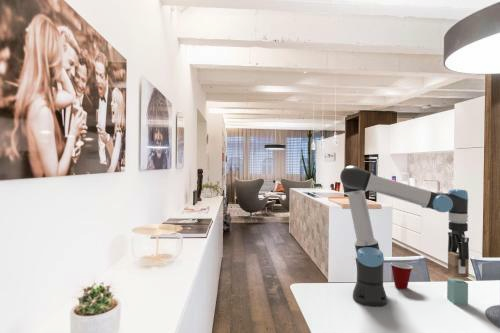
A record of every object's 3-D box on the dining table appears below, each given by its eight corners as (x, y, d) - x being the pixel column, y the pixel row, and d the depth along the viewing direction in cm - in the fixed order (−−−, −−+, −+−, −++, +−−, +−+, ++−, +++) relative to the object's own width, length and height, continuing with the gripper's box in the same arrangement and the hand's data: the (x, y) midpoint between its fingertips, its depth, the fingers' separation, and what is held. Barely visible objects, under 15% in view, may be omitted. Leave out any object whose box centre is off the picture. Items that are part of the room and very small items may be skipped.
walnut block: (454, 276, 141) (454, 255, 141) (447, 272, 147) (447, 251, 147) (468, 277, 140) (468, 255, 140) (461, 273, 146) (461, 252, 146)
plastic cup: (416, 288, 159) (417, 265, 160) (405, 292, 153) (406, 268, 153) (396, 281, 168) (397, 260, 169) (385, 285, 162) (386, 263, 162)
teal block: (453, 304, 141) (454, 282, 141) (447, 299, 147) (447, 278, 147) (467, 305, 140) (468, 283, 140) (460, 300, 146) (460, 279, 146)
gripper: (478, 225, 134) (478, 278, 133) (455, 219, 153) (455, 265, 152) (460, 225, 135) (460, 277, 134) (439, 218, 154) (439, 264, 153)
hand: (457, 270), depth 143 cm, fingers closed on walnut block, 6 cm apart
